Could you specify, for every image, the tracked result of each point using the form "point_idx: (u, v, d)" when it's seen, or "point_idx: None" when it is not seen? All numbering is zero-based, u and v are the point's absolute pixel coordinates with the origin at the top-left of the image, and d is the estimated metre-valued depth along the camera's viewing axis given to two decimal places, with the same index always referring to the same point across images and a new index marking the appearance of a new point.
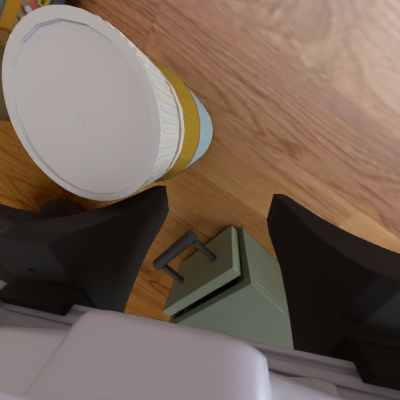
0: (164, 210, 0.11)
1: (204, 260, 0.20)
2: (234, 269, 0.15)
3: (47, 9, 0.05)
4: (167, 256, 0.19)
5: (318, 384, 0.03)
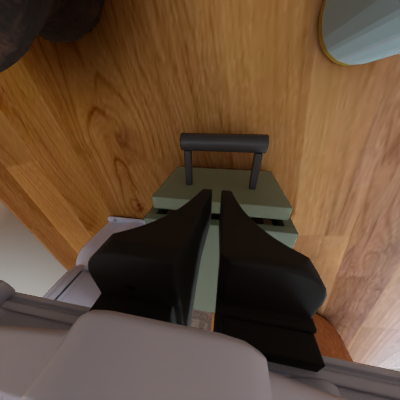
0: (210, 214, 0.10)
1: (231, 182, 0.16)
2: None
3: None
4: (213, 142, 0.13)
5: (318, 384, 0.03)
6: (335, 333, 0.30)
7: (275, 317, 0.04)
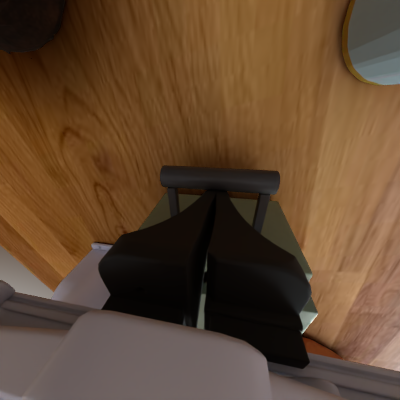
0: (214, 215, 0.10)
1: None
2: (310, 277, 0.09)
3: None
4: (204, 180, 0.09)
5: (318, 384, 0.03)
6: None
7: (263, 315, 0.04)
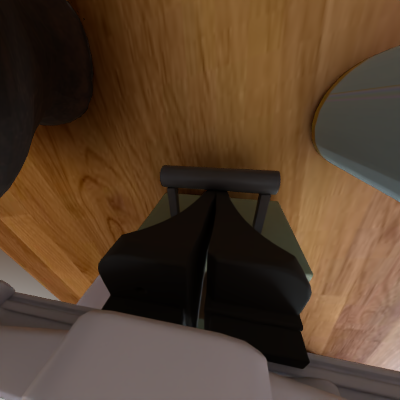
0: (215, 215, 0.10)
1: None
2: None
3: None
4: (205, 180, 0.09)
5: (318, 384, 0.03)
6: None
7: (263, 315, 0.04)
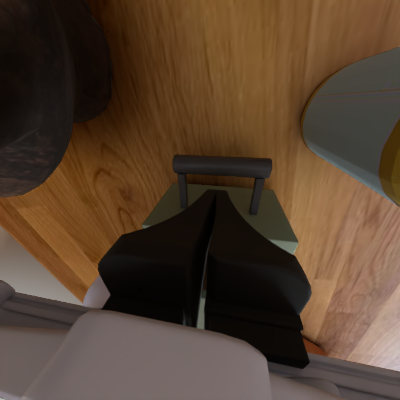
0: (214, 215, 0.10)
1: None
2: None
3: None
4: (210, 166, 0.11)
5: (318, 384, 0.03)
6: None
7: (263, 315, 0.04)
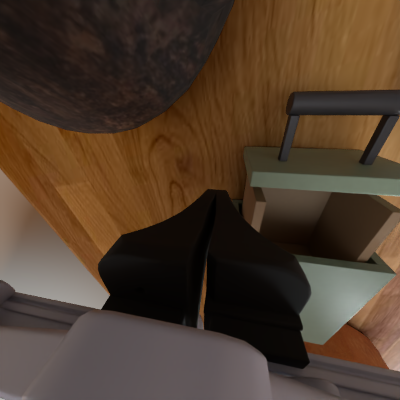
0: (214, 215, 0.10)
1: (330, 158, 0.13)
2: None
3: None
4: (341, 100, 0.10)
5: (318, 384, 0.03)
6: (374, 348, 0.31)
7: (263, 315, 0.04)
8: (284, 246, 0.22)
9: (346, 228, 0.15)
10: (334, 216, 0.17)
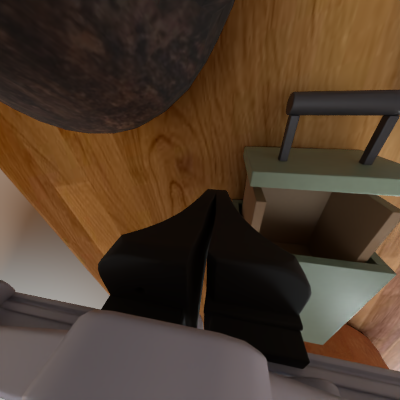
0: (214, 215, 0.10)
1: (330, 158, 0.13)
2: None
3: None
4: (341, 100, 0.10)
5: (318, 384, 0.03)
6: (374, 348, 0.31)
7: (263, 315, 0.04)
8: (284, 246, 0.22)
9: (346, 228, 0.15)
10: (334, 216, 0.17)
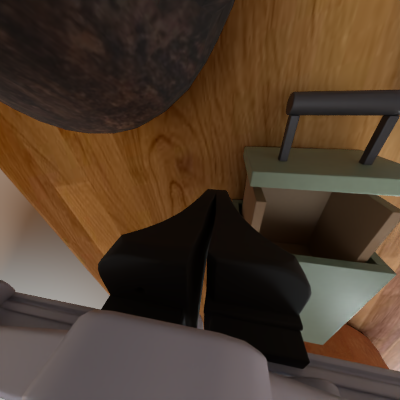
0: (214, 215, 0.10)
1: (330, 158, 0.13)
2: None
3: None
4: (341, 100, 0.10)
5: (318, 384, 0.03)
6: (374, 348, 0.31)
7: (263, 315, 0.04)
8: (284, 246, 0.22)
9: (346, 228, 0.15)
10: (334, 216, 0.17)
